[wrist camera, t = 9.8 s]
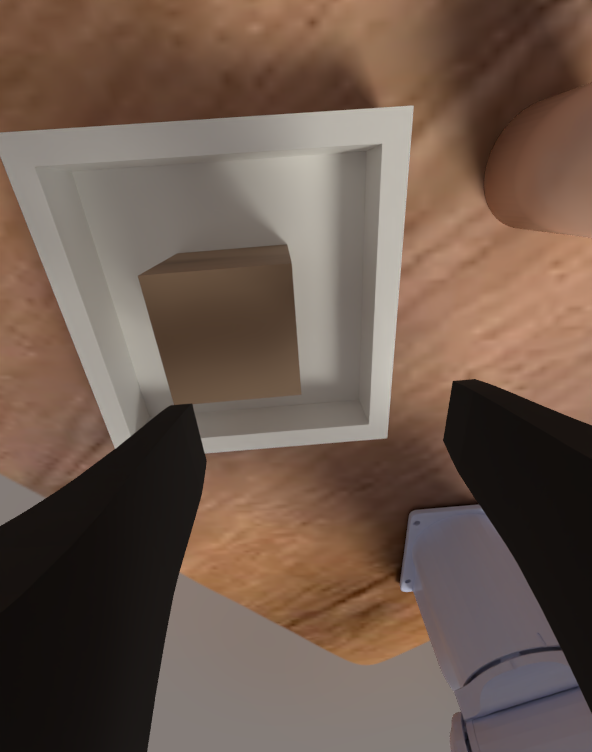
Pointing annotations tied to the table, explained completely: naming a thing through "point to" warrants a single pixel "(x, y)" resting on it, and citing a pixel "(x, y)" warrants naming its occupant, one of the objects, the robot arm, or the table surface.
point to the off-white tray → (227, 231)
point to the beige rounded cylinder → (545, 167)
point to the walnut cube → (225, 324)
